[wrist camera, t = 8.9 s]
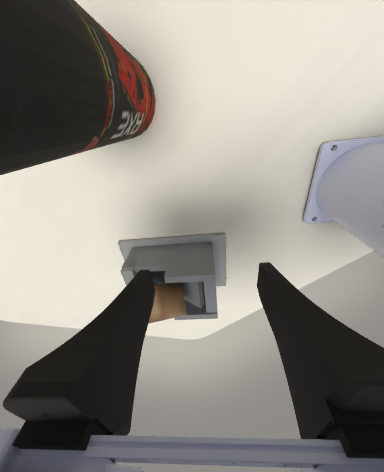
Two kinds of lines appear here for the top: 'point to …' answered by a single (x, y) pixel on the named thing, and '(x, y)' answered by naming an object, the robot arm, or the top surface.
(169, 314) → the dowel
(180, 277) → the socket
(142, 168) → the top surface
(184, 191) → the top surface
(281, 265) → the top surface
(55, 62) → the deodorant
